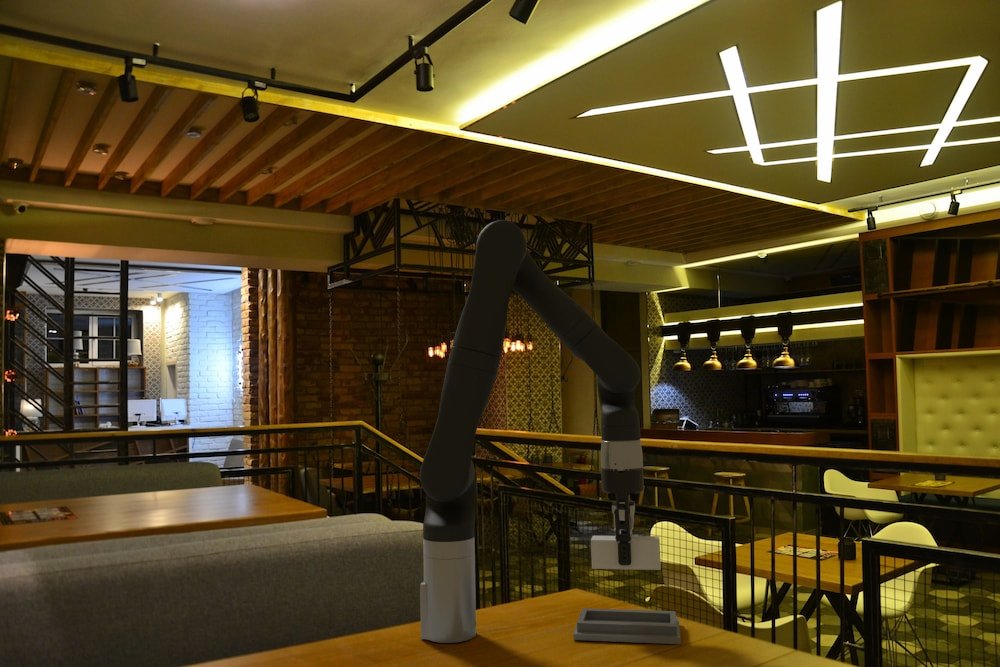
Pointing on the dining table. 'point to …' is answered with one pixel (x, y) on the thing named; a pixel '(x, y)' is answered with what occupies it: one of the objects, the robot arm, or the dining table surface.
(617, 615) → the cradle
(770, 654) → the dining table surface
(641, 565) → the off-white tapered block
